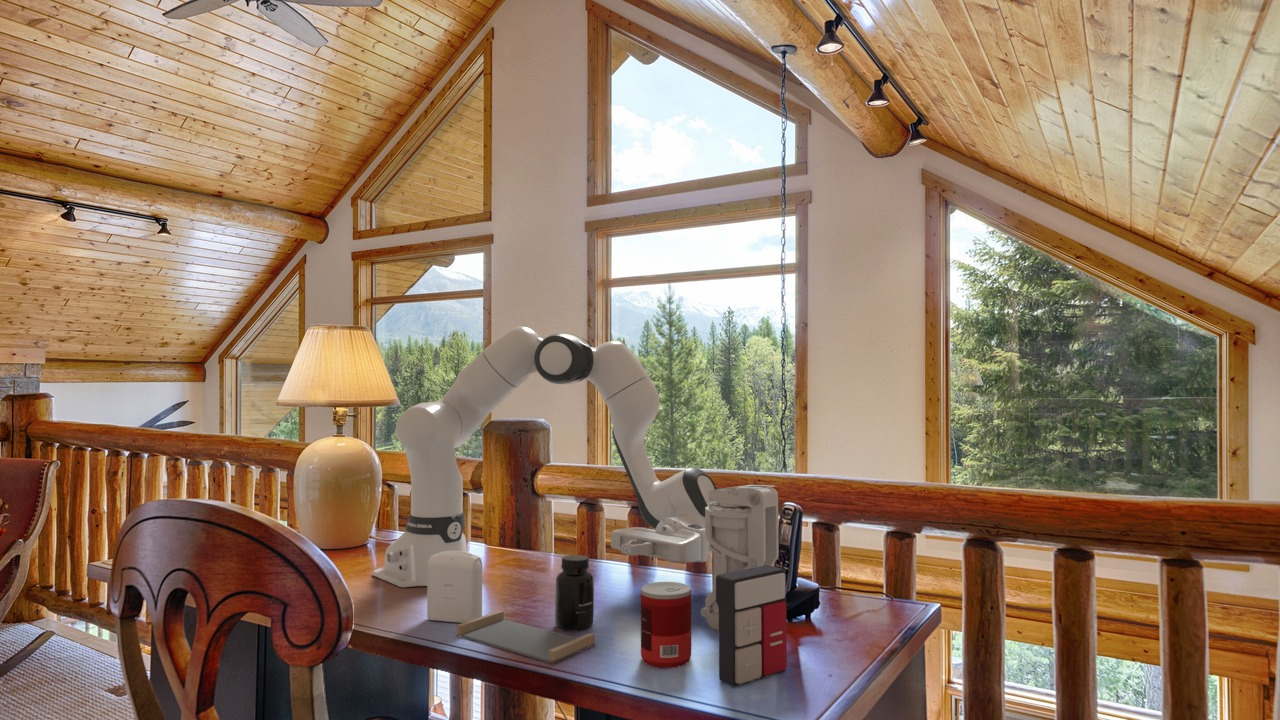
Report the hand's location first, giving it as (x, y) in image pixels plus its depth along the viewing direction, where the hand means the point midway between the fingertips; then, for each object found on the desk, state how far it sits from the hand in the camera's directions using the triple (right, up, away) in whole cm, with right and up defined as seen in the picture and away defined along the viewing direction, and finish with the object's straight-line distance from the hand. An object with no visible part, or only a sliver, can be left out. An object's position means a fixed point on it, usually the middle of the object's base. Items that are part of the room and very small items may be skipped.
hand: (626, 550), depth 138 cm
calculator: (+19, -10, -31) cm, 38 cm away
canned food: (+7, -11, -25) cm, 28 cm away
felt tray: (-17, -11, -16) cm, 26 cm away
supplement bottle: (-9, -11, -9) cm, 17 cm away
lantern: (+20, -11, -9) cm, 25 cm away
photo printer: (-31, -11, -5) cm, 34 cm away
